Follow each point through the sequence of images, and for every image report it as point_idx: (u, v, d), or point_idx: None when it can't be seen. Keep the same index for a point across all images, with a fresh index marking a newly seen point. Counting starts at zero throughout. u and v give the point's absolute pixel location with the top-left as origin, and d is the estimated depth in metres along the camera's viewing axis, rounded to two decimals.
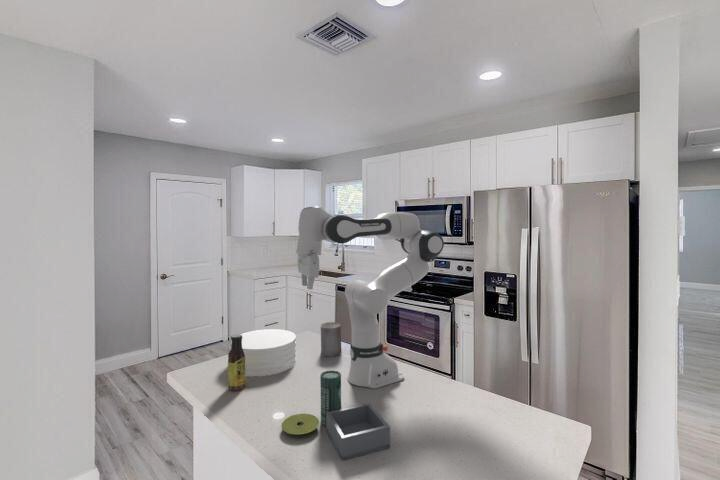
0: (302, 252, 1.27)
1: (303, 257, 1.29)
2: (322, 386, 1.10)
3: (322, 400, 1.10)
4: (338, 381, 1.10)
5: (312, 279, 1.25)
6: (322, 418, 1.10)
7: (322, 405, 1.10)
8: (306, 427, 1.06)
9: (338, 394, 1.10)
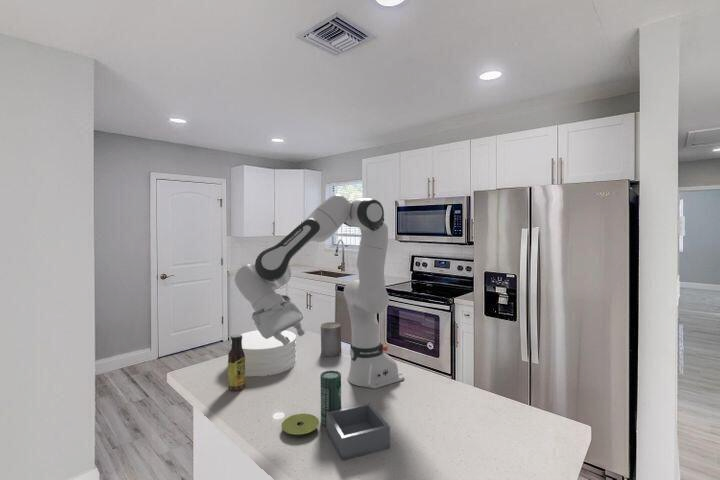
0: None
1: None
2: (322, 386, 1.10)
3: (322, 400, 1.10)
4: (338, 381, 1.10)
5: (277, 335, 1.10)
6: (322, 418, 1.10)
7: (322, 405, 1.10)
8: (306, 427, 1.06)
9: (338, 394, 1.10)
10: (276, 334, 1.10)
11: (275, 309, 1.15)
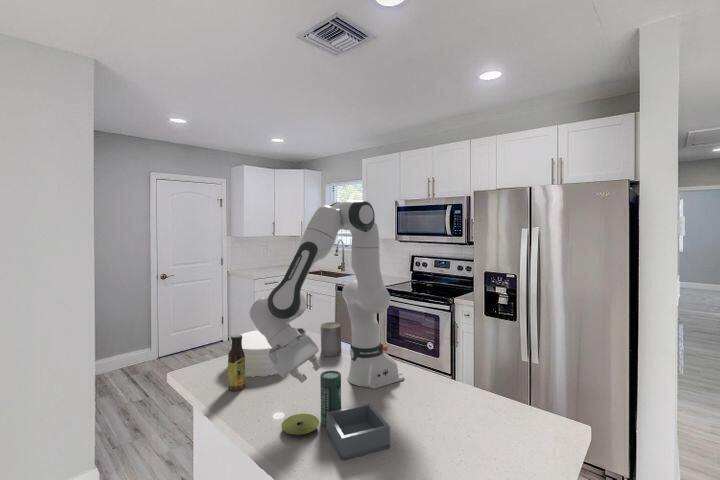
0: None
1: None
2: (322, 386, 1.10)
3: (322, 400, 1.10)
4: (338, 381, 1.10)
5: (294, 373, 1.08)
6: (322, 418, 1.10)
7: (322, 405, 1.10)
8: (306, 427, 1.06)
9: (338, 394, 1.10)
10: (293, 372, 1.08)
11: (291, 345, 1.14)
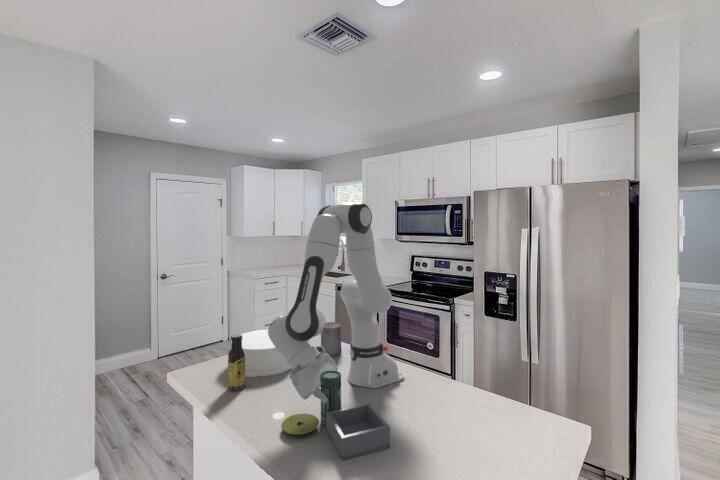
0: None
1: None
2: (322, 386, 1.10)
3: None
4: (338, 381, 1.10)
5: (317, 393, 1.07)
6: (322, 418, 1.10)
7: (322, 405, 1.10)
8: (306, 427, 1.06)
9: (338, 394, 1.10)
10: (316, 392, 1.07)
11: (311, 365, 1.11)
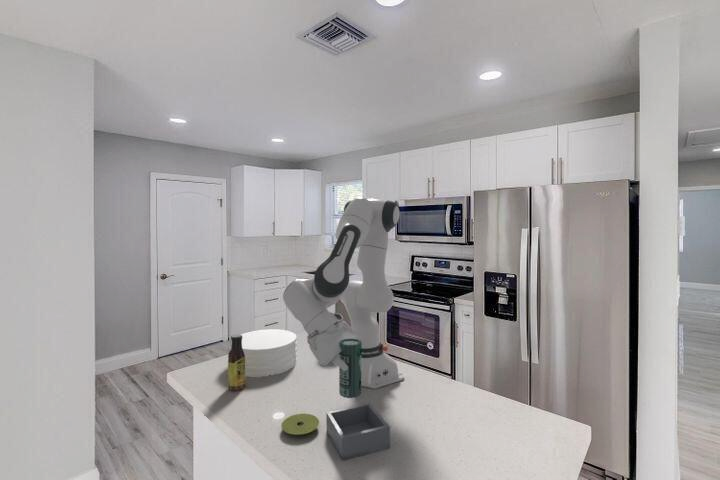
0: None
1: None
2: (341, 354, 1.01)
3: (341, 369, 1.01)
4: (359, 349, 1.01)
5: (336, 360, 0.98)
6: (341, 389, 1.01)
7: (341, 374, 1.01)
8: (306, 427, 1.06)
9: (358, 363, 1.01)
10: (335, 359, 0.98)
11: (330, 330, 1.03)
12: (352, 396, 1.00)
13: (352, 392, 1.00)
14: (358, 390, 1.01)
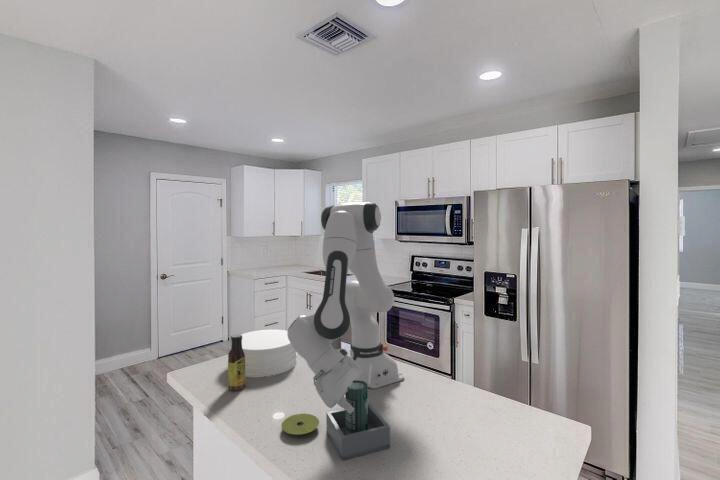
0: None
1: None
2: (347, 398, 1.00)
3: (347, 413, 1.00)
4: (365, 392, 1.00)
5: (342, 402, 0.96)
6: (347, 433, 1.01)
7: (347, 418, 1.00)
8: (306, 427, 1.06)
9: (365, 406, 1.00)
10: (340, 401, 0.96)
11: (336, 369, 1.02)
12: None
13: None
14: None
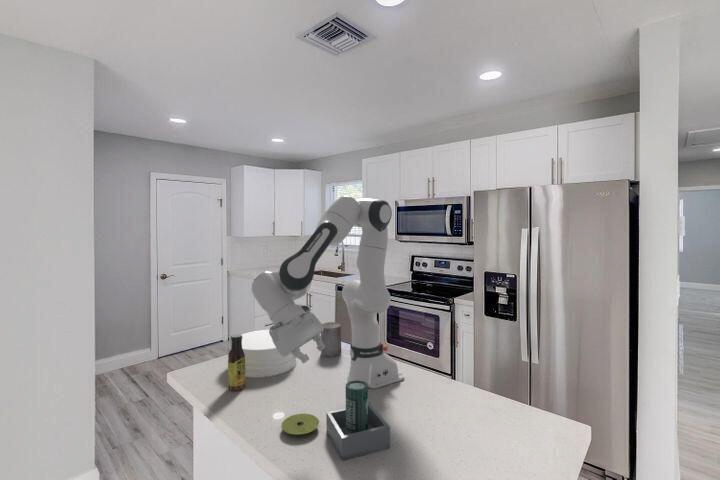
0: None
1: None
2: (348, 398, 1.00)
3: (347, 413, 1.00)
4: (365, 392, 1.00)
5: (296, 352, 1.01)
6: (347, 433, 1.01)
7: (347, 418, 1.00)
8: (306, 427, 1.06)
9: (365, 407, 1.00)
10: (294, 351, 1.02)
11: (294, 322, 1.06)
12: None
13: None
14: None
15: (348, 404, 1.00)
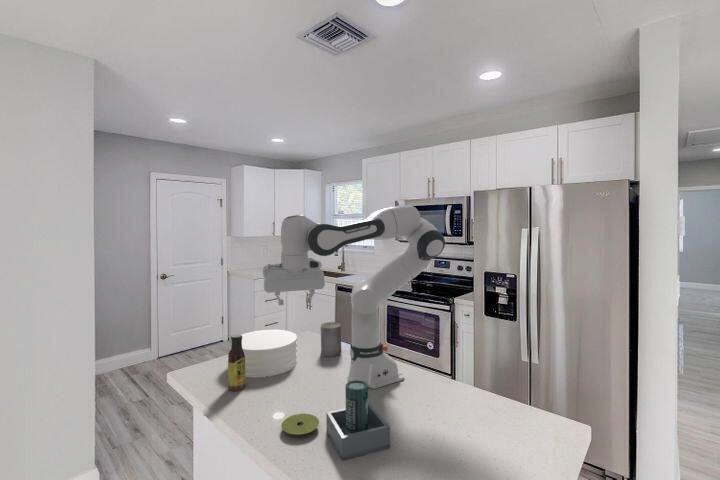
0: None
1: None
2: (348, 398, 1.00)
3: (347, 413, 1.00)
4: (365, 392, 1.00)
5: (275, 294, 1.17)
6: (347, 433, 1.01)
7: (347, 418, 1.00)
8: (306, 427, 1.06)
9: (365, 407, 1.00)
10: (275, 293, 1.17)
11: (290, 272, 1.17)
12: None
13: None
14: None
15: (348, 404, 1.00)
